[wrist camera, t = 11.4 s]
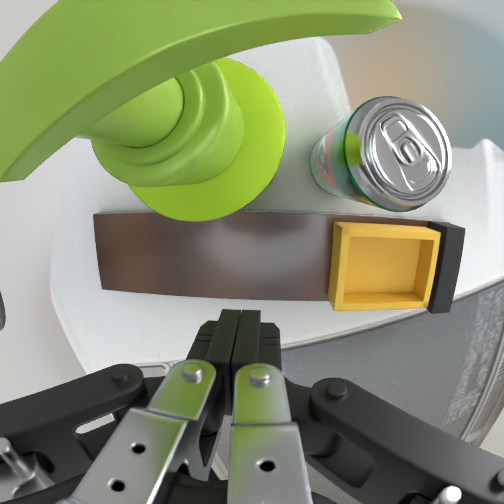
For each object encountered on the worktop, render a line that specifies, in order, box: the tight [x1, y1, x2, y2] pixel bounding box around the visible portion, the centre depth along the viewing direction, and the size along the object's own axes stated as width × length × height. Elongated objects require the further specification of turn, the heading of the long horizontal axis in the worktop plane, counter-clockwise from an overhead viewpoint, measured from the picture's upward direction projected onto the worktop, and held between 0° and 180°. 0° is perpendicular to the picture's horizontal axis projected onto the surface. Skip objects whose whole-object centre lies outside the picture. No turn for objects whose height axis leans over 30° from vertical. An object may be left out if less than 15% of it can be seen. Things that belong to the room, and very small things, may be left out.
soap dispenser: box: [0, 0, 402, 222], centre depth 11 cm, size 6×7×20 cm
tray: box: [328, 222, 441, 311], centre depth 20 cm, size 8×6×3 cm
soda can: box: [310, 96, 451, 212], centre depth 15 cm, size 5×5×12 cm
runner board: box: [93, 210, 450, 301], centre depth 22 cm, size 31×7×1 cm, turn 90°
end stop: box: [426, 221, 465, 314], centre depth 19 cm, size 2×7×3 cm, turn 179°
